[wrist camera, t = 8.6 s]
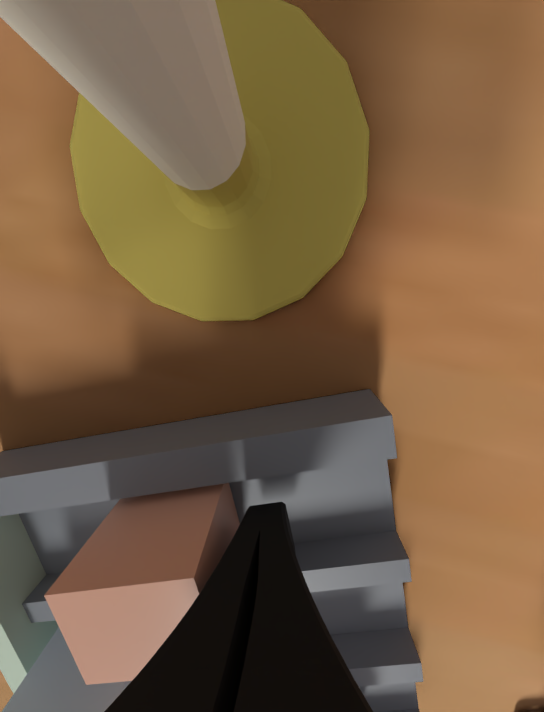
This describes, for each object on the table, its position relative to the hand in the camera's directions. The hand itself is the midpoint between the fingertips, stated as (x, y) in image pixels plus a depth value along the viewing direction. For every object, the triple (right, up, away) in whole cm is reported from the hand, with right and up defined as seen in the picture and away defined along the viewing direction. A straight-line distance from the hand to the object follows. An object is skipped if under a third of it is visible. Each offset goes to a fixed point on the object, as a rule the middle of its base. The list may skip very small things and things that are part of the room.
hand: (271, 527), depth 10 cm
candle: (-2, +12, 0) cm, 12 cm away
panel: (-2, -5, +4) cm, 7 cm away
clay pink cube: (-3, 0, +1) cm, 4 cm away
